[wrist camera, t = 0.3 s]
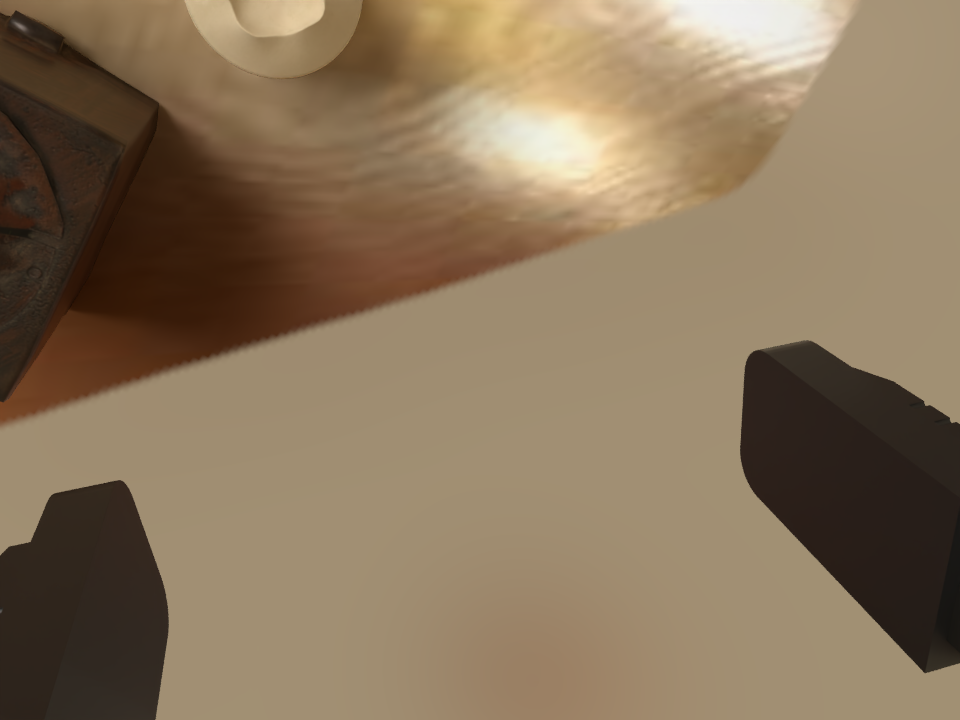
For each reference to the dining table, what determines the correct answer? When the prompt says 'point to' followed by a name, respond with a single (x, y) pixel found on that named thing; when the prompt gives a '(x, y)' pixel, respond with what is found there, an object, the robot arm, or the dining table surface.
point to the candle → (276, 32)
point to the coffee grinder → (56, 179)
